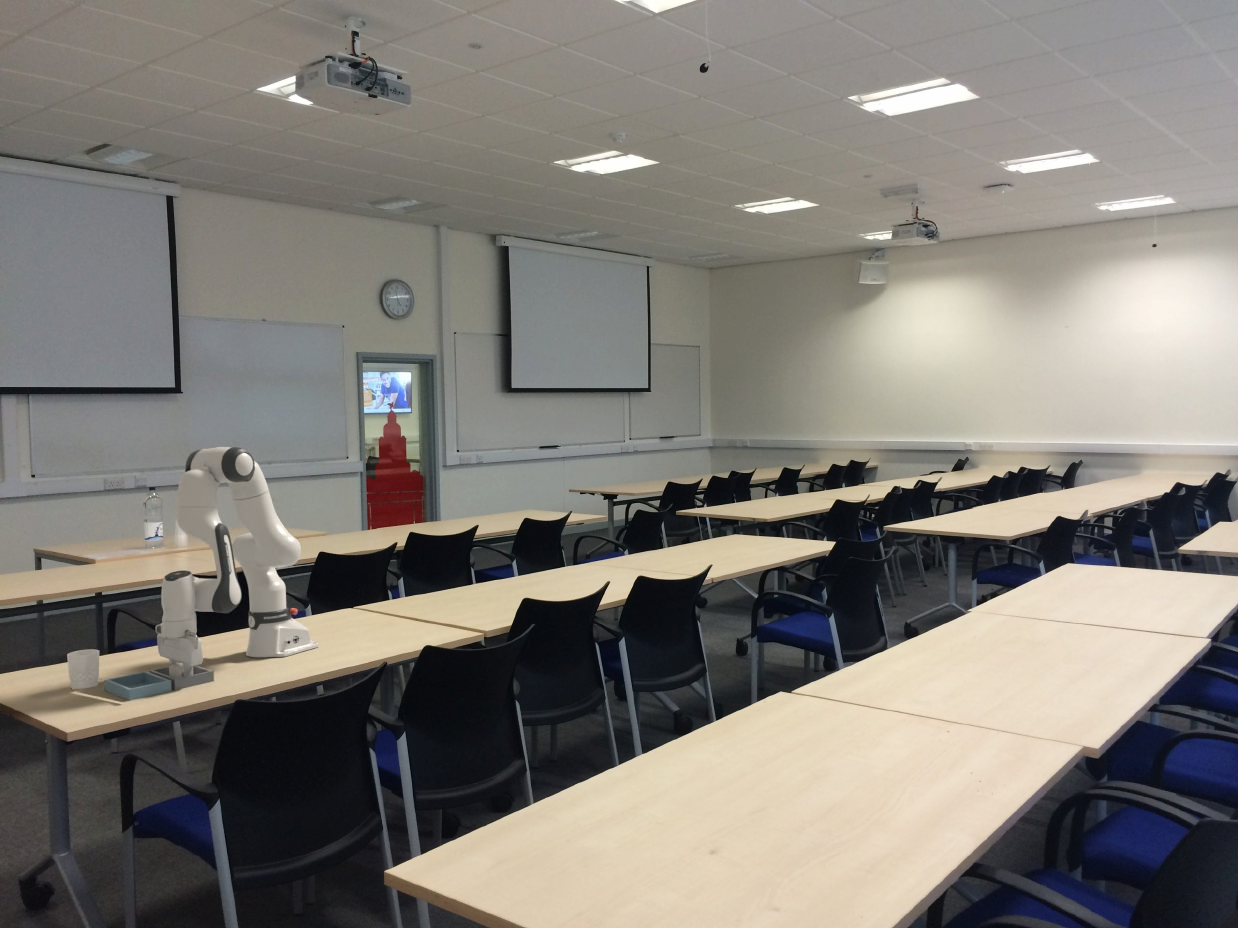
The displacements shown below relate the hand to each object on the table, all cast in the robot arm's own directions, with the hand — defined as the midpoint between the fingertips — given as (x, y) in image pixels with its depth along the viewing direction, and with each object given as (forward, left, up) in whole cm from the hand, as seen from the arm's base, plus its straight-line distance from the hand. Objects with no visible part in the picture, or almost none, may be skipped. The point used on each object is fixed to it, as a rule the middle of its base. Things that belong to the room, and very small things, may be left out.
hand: (181, 676), depth 262 cm
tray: (0, 0, -2) cm, 2 cm away
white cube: (0, 0, -1) cm, 1 cm away
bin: (+12, 0, -2) cm, 12 cm away
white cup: (+19, -18, -2) cm, 26 cm away
